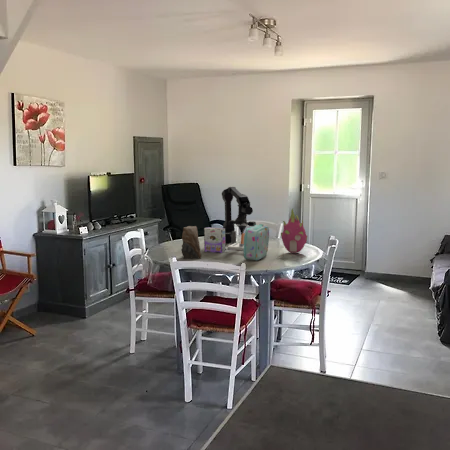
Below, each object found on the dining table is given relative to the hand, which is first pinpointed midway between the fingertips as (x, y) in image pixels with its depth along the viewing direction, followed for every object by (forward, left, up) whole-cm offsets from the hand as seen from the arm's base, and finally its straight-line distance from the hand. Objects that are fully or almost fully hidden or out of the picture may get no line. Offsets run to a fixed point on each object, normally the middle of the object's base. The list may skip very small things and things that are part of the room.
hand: (242, 235), depth 349 cm
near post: (-10, -11, -9) cm, 18 cm away
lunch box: (+20, -27, -10) cm, 35 cm away
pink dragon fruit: (+39, -4, -10) cm, 40 cm away
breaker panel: (0, 0, -9) cm, 9 cm away
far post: (-10, +11, -9) cm, 18 cm away
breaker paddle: (+1, 0, -6) cm, 6 cm away
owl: (-19, -41, -10) cm, 46 cm away
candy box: (-13, -18, -10) cm, 24 cm away
